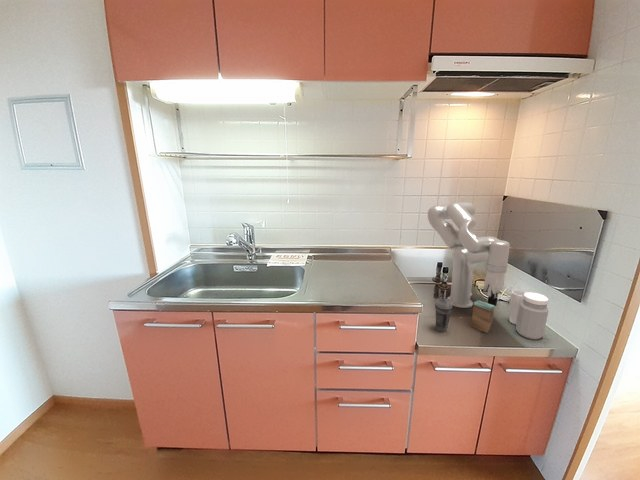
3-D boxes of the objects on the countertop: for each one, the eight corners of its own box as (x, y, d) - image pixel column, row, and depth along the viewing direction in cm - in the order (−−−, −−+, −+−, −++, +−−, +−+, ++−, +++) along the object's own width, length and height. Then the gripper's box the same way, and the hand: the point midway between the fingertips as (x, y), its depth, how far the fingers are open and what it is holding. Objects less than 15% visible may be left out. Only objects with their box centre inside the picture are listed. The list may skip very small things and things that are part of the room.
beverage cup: (449, 326, 127) (453, 286, 122) (450, 334, 121) (455, 293, 115) (432, 323, 130) (435, 284, 125) (433, 331, 123) (436, 291, 118)
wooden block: (475, 323, 129) (478, 299, 126) (491, 329, 123) (494, 305, 120) (470, 326, 127) (473, 302, 124) (487, 332, 121) (490, 308, 118)
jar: (549, 338, 116) (557, 300, 111) (529, 342, 114) (537, 303, 110) (527, 326, 125) (534, 290, 121) (509, 329, 123) (515, 292, 119)
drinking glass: (514, 317, 133) (518, 288, 129) (528, 324, 126) (533, 294, 123) (503, 320, 131) (508, 291, 127) (517, 327, 124) (522, 297, 121)
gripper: (494, 262, 130) (490, 297, 134) (480, 269, 121) (475, 307, 126) (512, 266, 124) (507, 303, 128) (498, 273, 115) (493, 313, 120)
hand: (491, 305), depth 127 cm, fingers closed
